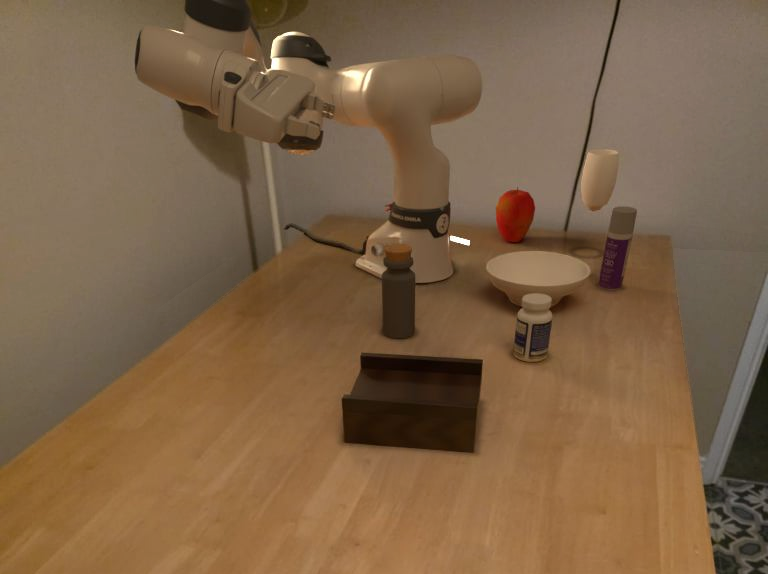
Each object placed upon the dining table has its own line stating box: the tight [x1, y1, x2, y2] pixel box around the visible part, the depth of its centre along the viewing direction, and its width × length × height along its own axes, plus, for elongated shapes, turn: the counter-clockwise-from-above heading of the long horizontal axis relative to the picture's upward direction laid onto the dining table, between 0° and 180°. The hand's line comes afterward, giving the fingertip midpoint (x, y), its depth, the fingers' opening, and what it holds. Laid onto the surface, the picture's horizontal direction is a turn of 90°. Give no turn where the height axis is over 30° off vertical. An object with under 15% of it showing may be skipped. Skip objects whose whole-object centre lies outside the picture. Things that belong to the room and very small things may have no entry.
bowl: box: [485, 250, 592, 307], centre depth 129 cm, size 20×20×7 cm
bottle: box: [381, 244, 416, 340], centre depth 116 cm, size 6×6×15 cm
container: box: [597, 206, 638, 292], centre depth 132 cm, size 5×5×15 cm
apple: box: [495, 187, 536, 243], centre depth 157 cm, size 9×9×12 cm
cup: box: [580, 148, 620, 213], centre depth 147 cm, size 7×7×21 cm
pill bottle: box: [513, 293, 553, 363], centre depth 110 cm, size 6×6×10 cm
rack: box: [341, 351, 484, 453], centre depth 95 cm, size 18×14×7 cm
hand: (327, 122), depth 102 cm, fingers open, 8 cm apart
